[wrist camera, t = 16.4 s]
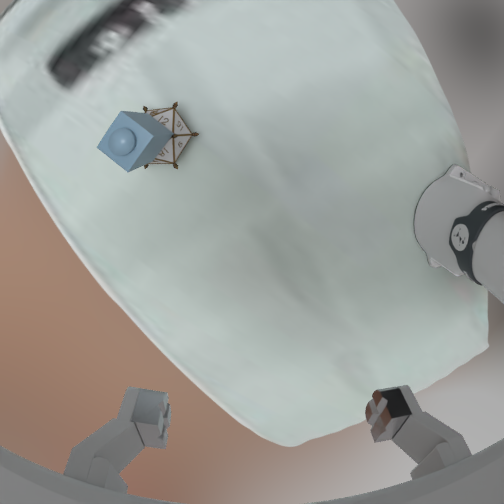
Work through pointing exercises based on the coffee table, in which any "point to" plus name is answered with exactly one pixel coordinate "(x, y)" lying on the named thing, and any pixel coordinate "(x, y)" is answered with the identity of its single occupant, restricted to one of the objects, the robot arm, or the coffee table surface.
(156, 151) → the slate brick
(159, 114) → the twenty-sided die
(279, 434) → the coffee table surface
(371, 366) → the coffee table surface
